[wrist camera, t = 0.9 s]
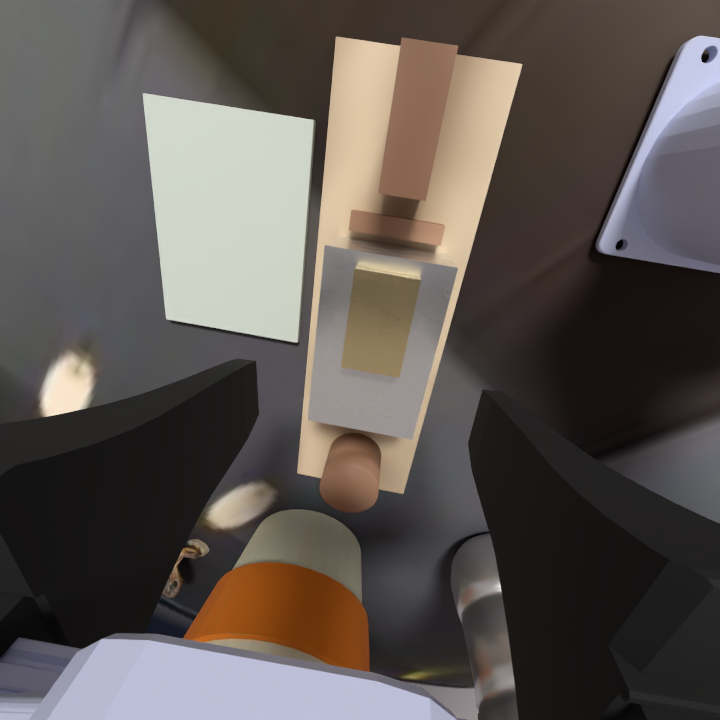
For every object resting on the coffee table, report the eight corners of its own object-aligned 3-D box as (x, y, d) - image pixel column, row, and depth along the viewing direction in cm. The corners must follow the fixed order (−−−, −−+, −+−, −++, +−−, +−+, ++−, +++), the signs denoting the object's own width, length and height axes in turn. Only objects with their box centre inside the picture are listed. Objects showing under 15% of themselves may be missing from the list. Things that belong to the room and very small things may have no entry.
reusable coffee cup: (281, 604, 33) (197, 892, 19) (204, 513, 28) (25, 801, 15) (406, 582, 29) (411, 912, 16) (341, 474, 25) (270, 802, 11)
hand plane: (507, 80, 15) (569, 12, 9) (403, 471, 24) (403, 551, 19) (344, 55, 15) (311, -25, 9) (304, 453, 24) (277, 525, 19)
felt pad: (316, 121, 16) (313, 120, 16) (299, 340, 21) (297, 342, 20) (148, 95, 16) (142, 93, 16) (170, 317, 21) (166, 319, 21)
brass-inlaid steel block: (446, 253, 16) (461, 272, 12) (410, 400, 19) (412, 451, 15) (339, 235, 16) (320, 248, 12) (322, 384, 20) (303, 430, 16)
